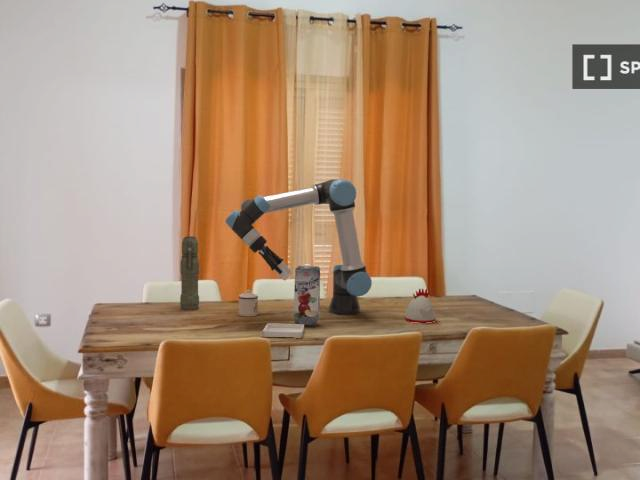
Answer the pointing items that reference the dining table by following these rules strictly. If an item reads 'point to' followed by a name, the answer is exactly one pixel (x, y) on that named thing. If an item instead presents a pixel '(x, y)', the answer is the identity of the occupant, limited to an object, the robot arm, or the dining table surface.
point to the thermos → (189, 274)
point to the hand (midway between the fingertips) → (288, 276)
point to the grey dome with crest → (420, 308)
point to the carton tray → (283, 330)
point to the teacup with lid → (248, 304)
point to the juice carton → (307, 295)
